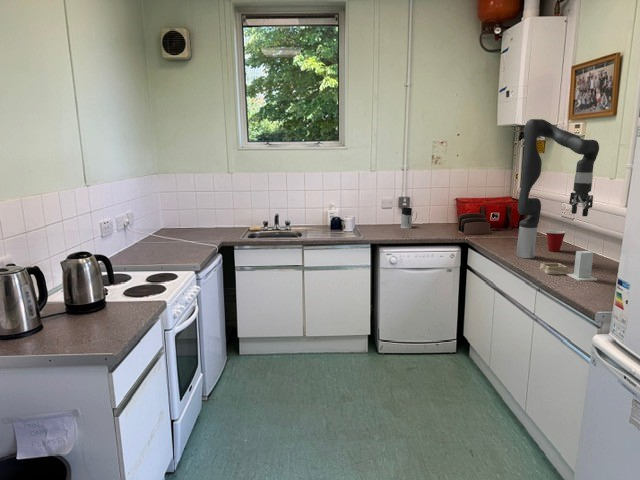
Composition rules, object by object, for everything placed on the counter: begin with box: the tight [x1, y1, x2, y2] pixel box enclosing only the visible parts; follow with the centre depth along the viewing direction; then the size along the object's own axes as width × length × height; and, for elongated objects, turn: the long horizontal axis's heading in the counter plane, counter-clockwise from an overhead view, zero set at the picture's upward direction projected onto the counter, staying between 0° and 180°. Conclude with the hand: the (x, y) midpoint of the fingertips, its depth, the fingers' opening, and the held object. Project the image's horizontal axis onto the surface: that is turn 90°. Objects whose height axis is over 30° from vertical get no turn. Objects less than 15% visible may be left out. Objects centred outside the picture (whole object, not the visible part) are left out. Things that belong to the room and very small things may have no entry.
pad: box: [565, 272, 598, 282], centre depth 210 cm, size 10×9×1 cm
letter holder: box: [457, 212, 491, 236], centre depth 317 cm, size 10×20×14 cm, turn 99°
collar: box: [539, 262, 569, 275], centre depth 219 cm, size 8×10×4 cm
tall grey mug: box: [400, 207, 418, 229], centre depth 339 cm, size 9×14×15 cm, turn 40°
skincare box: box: [573, 250, 594, 277], centre depth 208 cm, size 6×4×12 cm
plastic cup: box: [545, 230, 567, 253], centre depth 262 cm, size 11×11×12 cm
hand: (579, 214), depth 217 cm, fingers open, 8 cm apart
